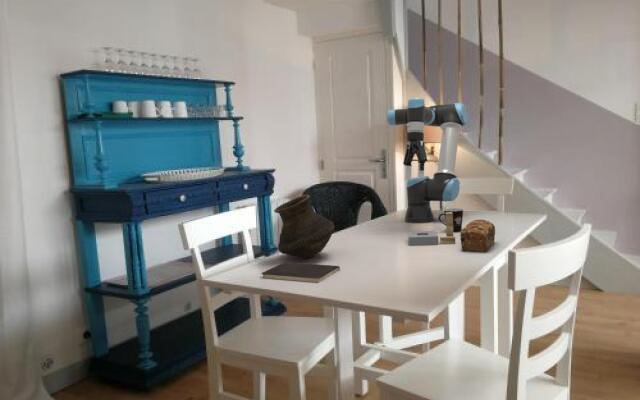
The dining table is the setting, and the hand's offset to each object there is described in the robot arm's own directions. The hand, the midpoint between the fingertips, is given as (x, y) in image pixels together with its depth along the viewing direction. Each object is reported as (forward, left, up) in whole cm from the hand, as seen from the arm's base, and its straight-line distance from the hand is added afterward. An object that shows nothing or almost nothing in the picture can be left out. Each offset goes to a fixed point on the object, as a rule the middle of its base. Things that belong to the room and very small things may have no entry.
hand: (414, 179), depth 236 cm
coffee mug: (-6, +16, -26) cm, 31 cm away
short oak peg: (+20, +12, -26) cm, 35 cm away
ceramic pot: (+37, -45, -26) cm, 64 cm away
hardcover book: (+62, -43, -27) cm, 80 cm away
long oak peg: (+9, +14, -26) cm, 31 cm away
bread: (+28, +23, -26) cm, 45 cm away
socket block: (+16, +2, -26) cm, 30 cm away
